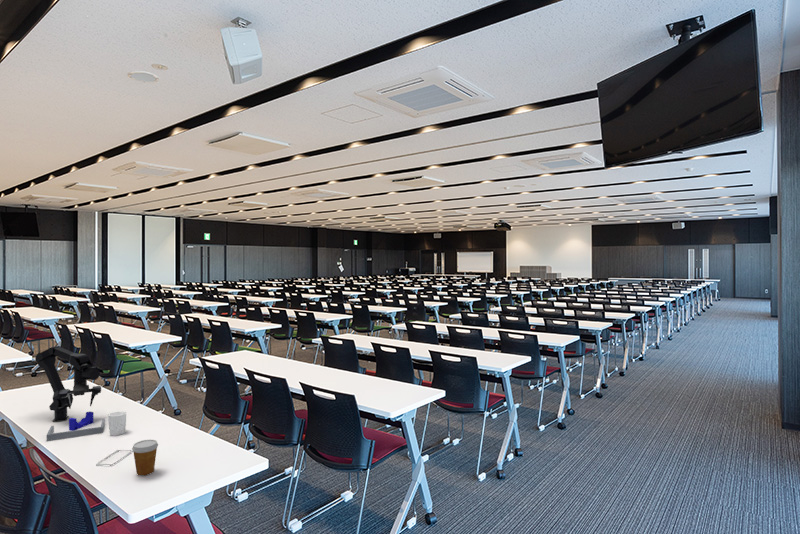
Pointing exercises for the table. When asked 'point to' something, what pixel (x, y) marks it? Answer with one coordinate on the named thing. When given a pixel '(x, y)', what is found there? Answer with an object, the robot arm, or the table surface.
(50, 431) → the box
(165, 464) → the table surface
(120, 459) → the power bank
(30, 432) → the table surface
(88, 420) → the blue v notch block
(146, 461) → the disposable coffee cup
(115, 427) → the white cup
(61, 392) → the robot arm
